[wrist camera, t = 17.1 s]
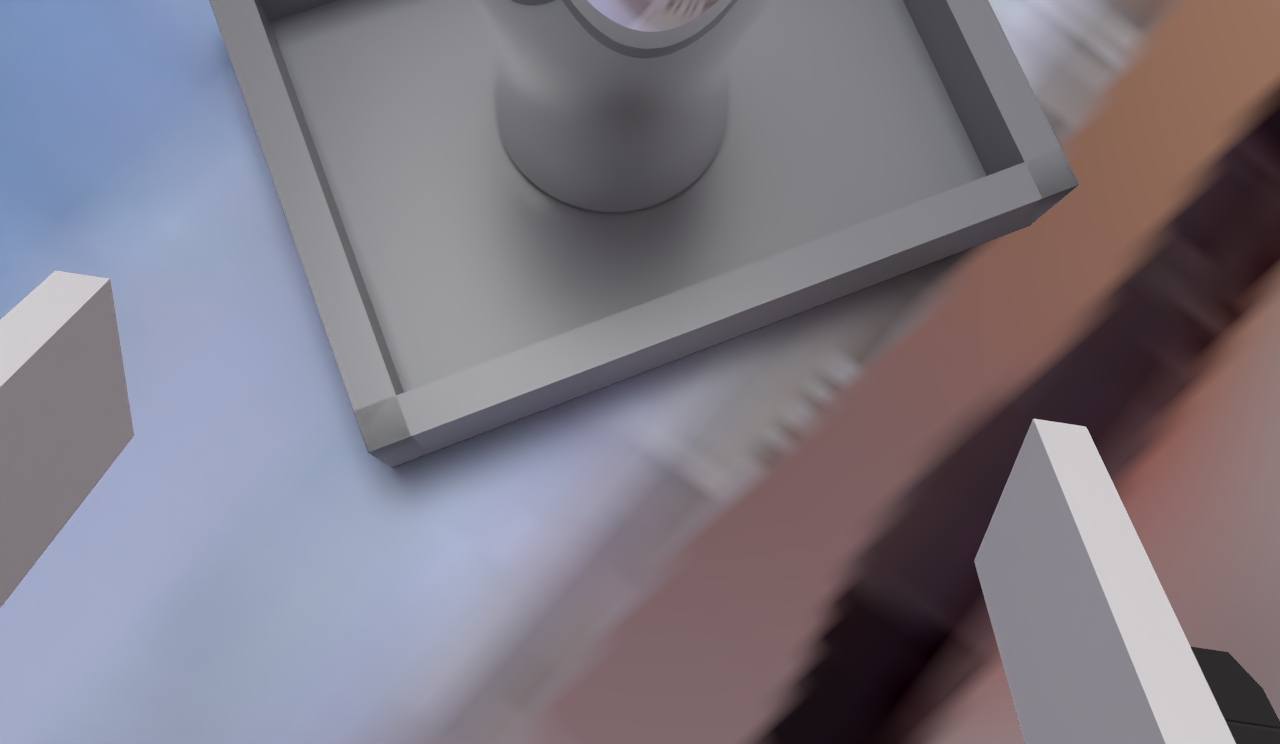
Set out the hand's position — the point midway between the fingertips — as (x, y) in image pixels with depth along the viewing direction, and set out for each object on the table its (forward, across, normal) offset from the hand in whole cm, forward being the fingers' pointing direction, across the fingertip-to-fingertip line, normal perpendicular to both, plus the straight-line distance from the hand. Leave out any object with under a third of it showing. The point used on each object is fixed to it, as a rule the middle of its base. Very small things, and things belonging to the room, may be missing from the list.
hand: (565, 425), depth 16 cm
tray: (+16, 0, -1) cm, 16 cm away
